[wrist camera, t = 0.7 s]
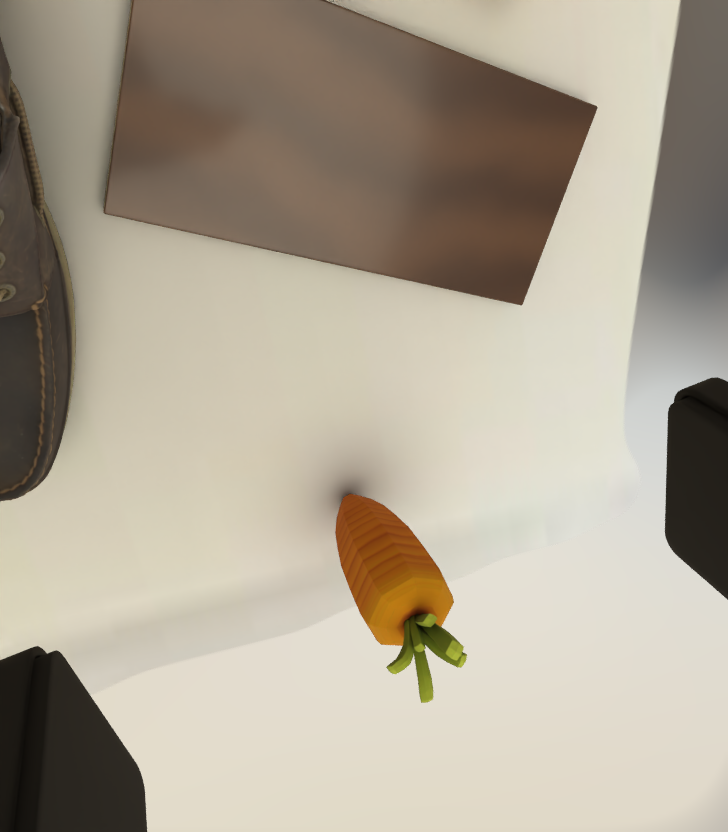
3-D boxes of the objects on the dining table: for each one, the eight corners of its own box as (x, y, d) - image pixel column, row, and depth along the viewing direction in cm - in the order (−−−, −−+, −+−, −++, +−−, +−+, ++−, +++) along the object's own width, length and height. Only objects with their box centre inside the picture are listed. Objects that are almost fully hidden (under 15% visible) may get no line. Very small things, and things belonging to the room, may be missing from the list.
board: (140, -67, 27) (141, -72, 26) (585, 105, 37) (598, 106, 36) (103, 208, 31) (103, 213, 30) (512, 299, 41) (522, 305, 40)
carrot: (348, 541, 45) (444, 729, 32) (294, 508, 42) (375, 699, 30) (399, 487, 44) (517, 658, 32) (347, 450, 42) (453, 620, 29)
